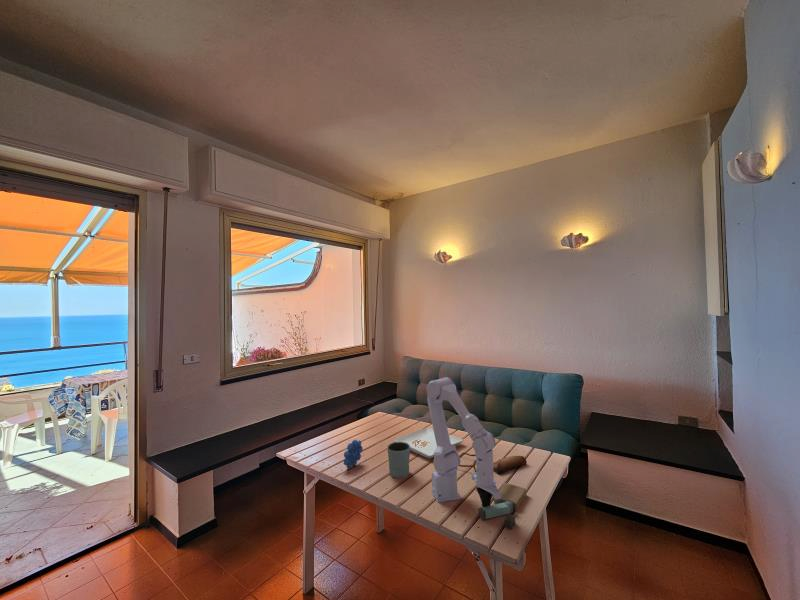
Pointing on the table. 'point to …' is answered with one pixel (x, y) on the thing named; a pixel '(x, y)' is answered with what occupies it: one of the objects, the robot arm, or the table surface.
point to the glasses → (468, 465)
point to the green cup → (399, 459)
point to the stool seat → (511, 500)
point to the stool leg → (495, 510)
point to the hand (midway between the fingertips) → (486, 509)
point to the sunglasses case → (508, 463)
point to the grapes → (352, 453)
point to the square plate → (426, 436)
